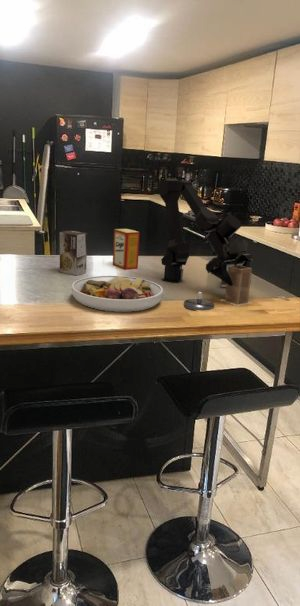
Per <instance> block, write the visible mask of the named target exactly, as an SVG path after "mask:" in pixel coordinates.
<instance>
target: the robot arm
mask: <svg viewBox="0 0 300 606" xmlns="http://www.w3.org/2000/svg"><path fill="white" fill-rule="evenodd" d="M157 188H158V193H159V197H160V199H162V201H163V202H164V205H165V212H166V213H165V214H166V222H167V229H168V239H169V241H168V244H167V246H166V253H165V255H163V257H162V258H161V259H160V260H161V261H160V262H161V265H163V266H164V273H163V278H162V281H165V282H172V283H179V282H181V281H183V278H184V269H183V266H186V265H187V261H188V259H189V258H190V253H191V251H190V243H189V242H188V241H187V242H186V241H185V240H184V239H183V233H182V225H181V217H180V216H181V215H180V208H179V200H180V197H181V195H182V197H183V199H184V200H185V202H186V204H187V205H188V207H189V209H190V210H191V211H192V213H193V215H194V222H195V225H196V227H197V229H198V231H199V232H201V233H207V232H208V234H204V237H203V243H204V244H206V243H209V245H210V246H211V249H212V251H213V252H211V253H212V255H213V256H214V257H213V256H212V258H211V260H209V262H207V263H206V264H205V271H206V272H207V274H211V275H212V276H215V277H217V278H218V279H219V280H221V281H222V280H223V281H224V282H225V283H227V284H228V285H229V286H232V285H233V283H232V280H231V278H230V276H229V274H228V272H227V266H229V265H234V266H236V265H241V266H245V267H249V268H250V265H251V264H252V262H253V261H254V257H253V256H252V254H250V253H246V252H247V251H248V249H249V243H248V242H247V241H246V240H240V241H238V242H234V243H231V242H229V241H228V240H227V239H230V238H232V236H233V235H234V234H236V233H237V231H238V230H239V229H241V227H242V223H241V221H240V219H238V218H237V217H236V216H234V215H232V213H231V212H227V213H225V214H224V216H223V217H221V219H220V217H218V215H217V214H216V213H214V212H213V211H212V210H210V209H209V208H208V207H207V206H206V205H205V203H204V201H203V200H202V199H201V197H200V196H199V194H198V192H197V191H196V189H195V188H194V186H193V183H192V181H190V180H179V179H177V178H162V179H160V181H159V183H158V186H157ZM243 252H244V253H243ZM241 253H242V254H241ZM240 254H241V255H240Z"/></svg>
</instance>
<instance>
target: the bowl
mask: <svg viewBox="0 0 300 606" xmlns="http://www.w3.org/2000/svg"><path fill="white" fill-rule="evenodd" d="M71 293H72V296H73V298H74V299H75V300H76V301H77V302H78V303H80V304H81V305H83V306H85V307H87V306H88V307H87V308H90V307H91V308H90V309H93V308H95V309H94V310H97V309H99V311H103V310H105V311H104V312H111V311H114V312H115V313H131V312H132V311H134V312H140V310H141V311H145V310H148V309H151V308H153V307H155V306H156V305H157V304H158V303H160V301H161V299H162V297H163V295H164V294H163V293H164V289H163V287H162V286H161V285H160V284H159V283H156V282H154V281H152V280H147V279H144V278H141V277H133V276H123V275H96V276H95V275H94V276H88V277H84V278H79V279H77V280H75V281H74V282H72V284H71ZM132 313H133V312H132Z"/></svg>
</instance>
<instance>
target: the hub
mask: <svg viewBox="0 0 300 606" xmlns="http://www.w3.org/2000/svg"><path fill="white" fill-rule="evenodd" d="M183 308H185V309H186V310H190V311H194V312H197V311H210V310H213V309H214V308H215V303H214V302H212V301H210V300H206V299H203V291H197V297H196V298H189V299H185V300H184V301H183Z"/></svg>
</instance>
